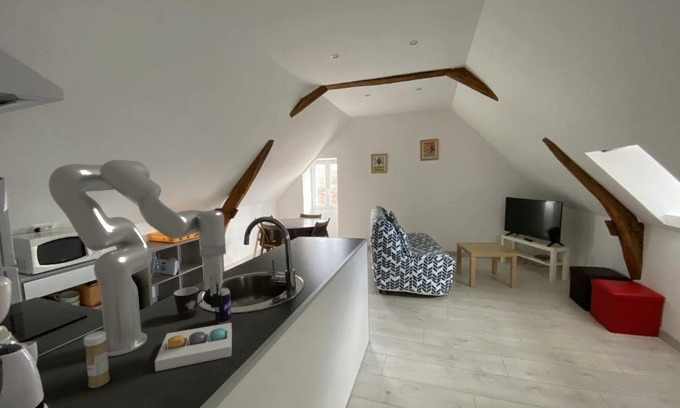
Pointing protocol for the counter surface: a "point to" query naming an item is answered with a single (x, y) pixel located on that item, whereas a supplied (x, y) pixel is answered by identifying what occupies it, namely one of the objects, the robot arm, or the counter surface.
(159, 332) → the counter surface
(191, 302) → the coffee mug
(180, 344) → the orange button
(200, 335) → the charcoal button
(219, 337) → the teal button
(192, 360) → the panel
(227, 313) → the beverage can
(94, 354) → the sprinkles bottle
